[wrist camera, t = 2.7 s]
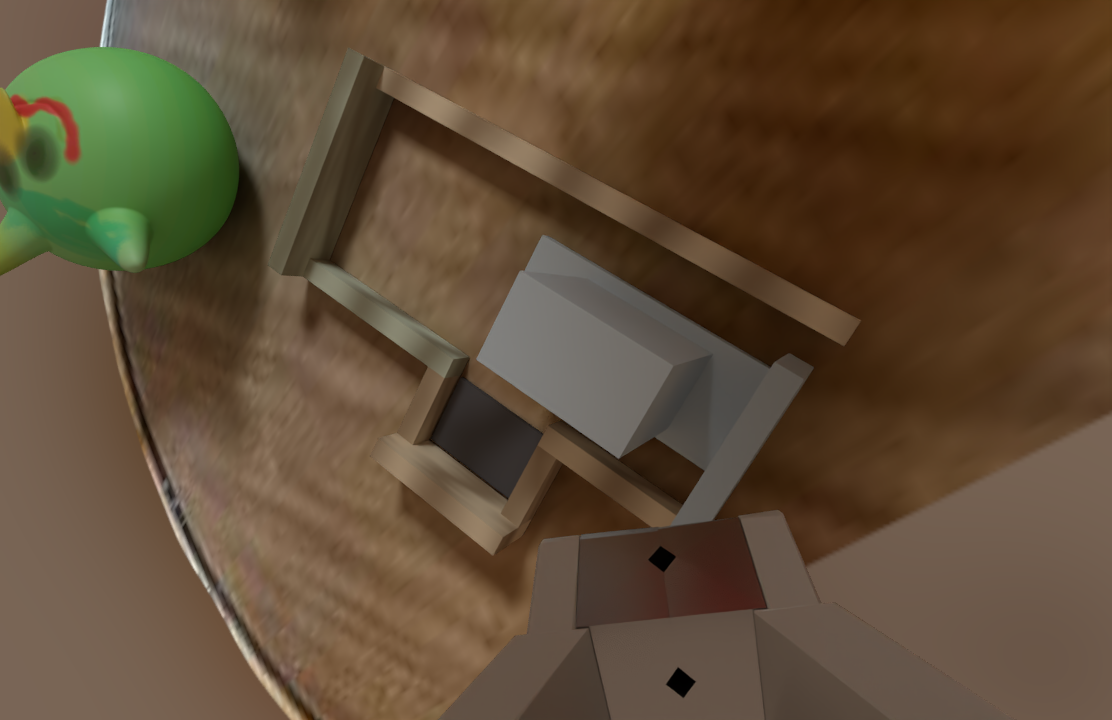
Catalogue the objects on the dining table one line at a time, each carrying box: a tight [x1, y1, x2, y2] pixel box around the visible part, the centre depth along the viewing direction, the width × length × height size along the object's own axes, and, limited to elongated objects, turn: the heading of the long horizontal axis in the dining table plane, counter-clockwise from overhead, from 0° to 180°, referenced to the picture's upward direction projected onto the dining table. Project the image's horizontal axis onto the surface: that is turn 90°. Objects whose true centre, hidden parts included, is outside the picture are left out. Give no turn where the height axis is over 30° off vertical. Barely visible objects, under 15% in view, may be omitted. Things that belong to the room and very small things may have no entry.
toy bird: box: [0, 47, 239, 276], centre depth 49 cm, size 18×17×15 cm
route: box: [268, 48, 861, 555], centre depth 43 cm, size 36×23×4 cm, turn 60°
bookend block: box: [476, 235, 814, 526], centre depth 37 cm, size 18×10×10 cm, turn 60°
